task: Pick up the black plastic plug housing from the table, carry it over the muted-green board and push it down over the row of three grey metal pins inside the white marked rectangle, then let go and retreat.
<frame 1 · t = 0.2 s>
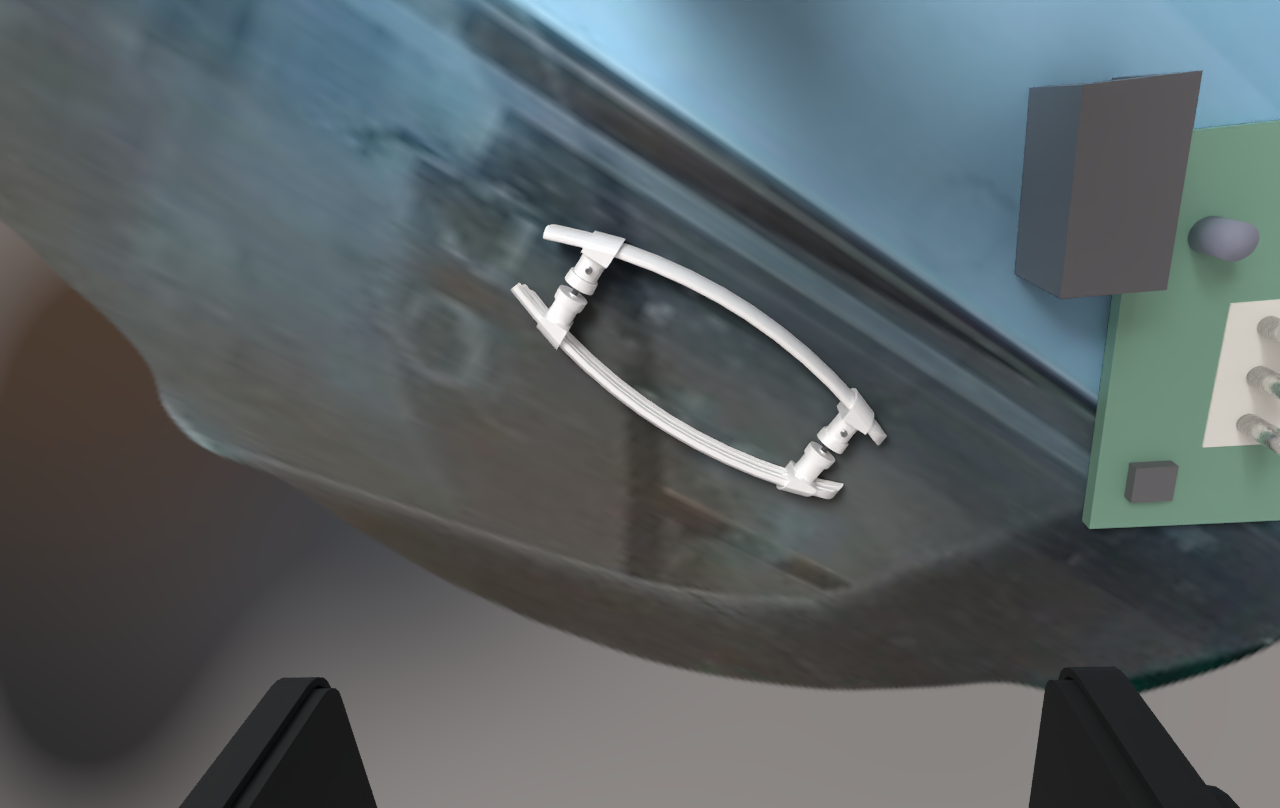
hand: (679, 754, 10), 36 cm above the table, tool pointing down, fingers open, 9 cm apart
pins: (1244, 369, 43), resting on board
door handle: (702, 359, 46), on the table
plug housing: (1068, 180, 40), on the table
board: (1251, 337, 42), on the table
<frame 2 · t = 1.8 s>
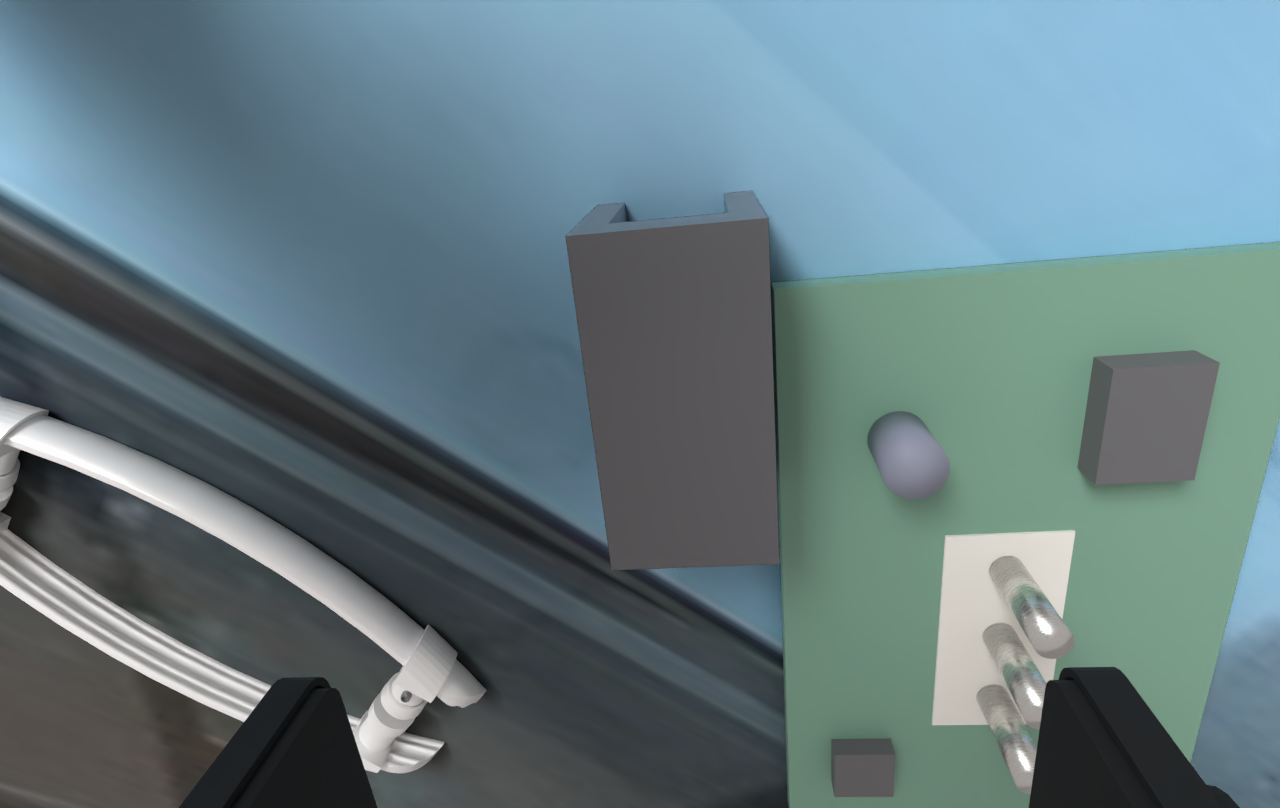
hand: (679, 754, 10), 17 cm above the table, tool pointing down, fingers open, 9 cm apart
pins: (988, 616, 28), resting on board
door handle: (219, 571, 31), on the table
plug housing: (685, 345, 25), on the table
board: (992, 574, 28), on the table
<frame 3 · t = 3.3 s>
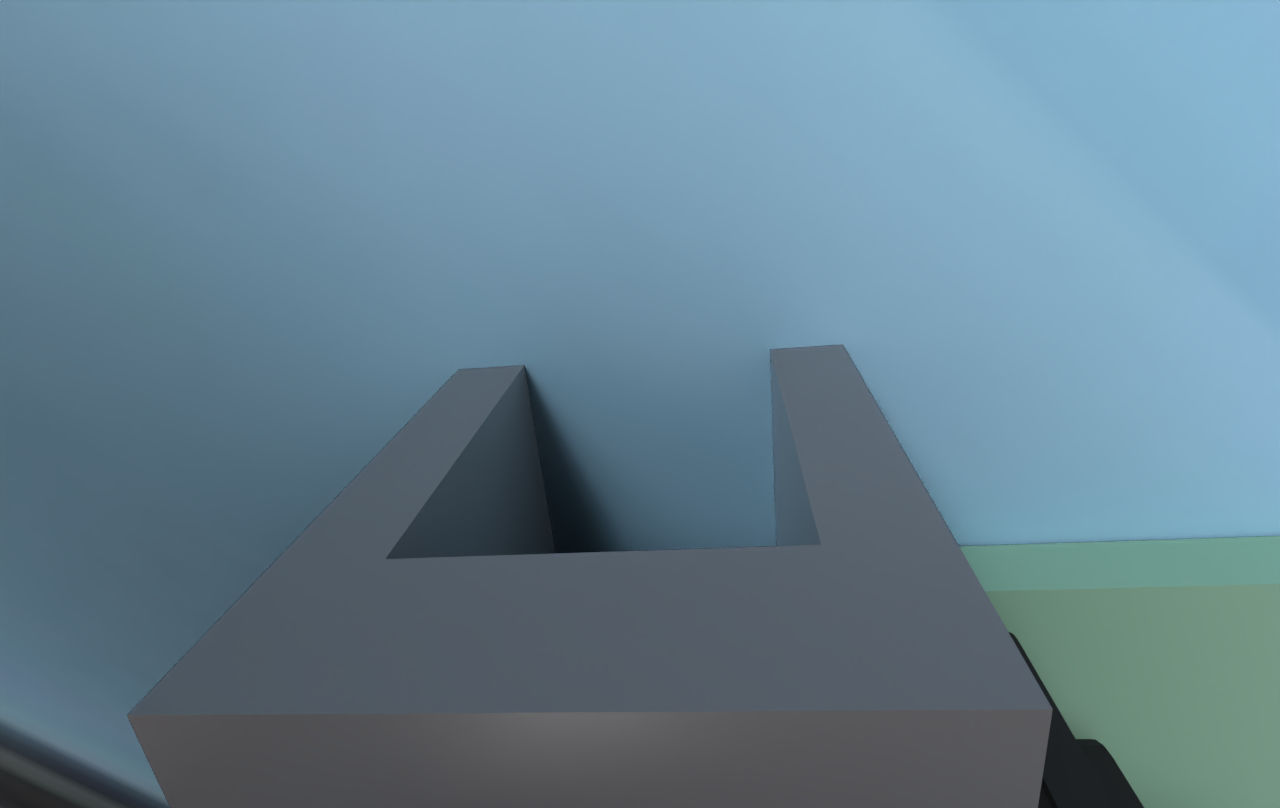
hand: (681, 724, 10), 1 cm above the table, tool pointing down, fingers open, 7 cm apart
plug housing: (675, 660, 11), on the table
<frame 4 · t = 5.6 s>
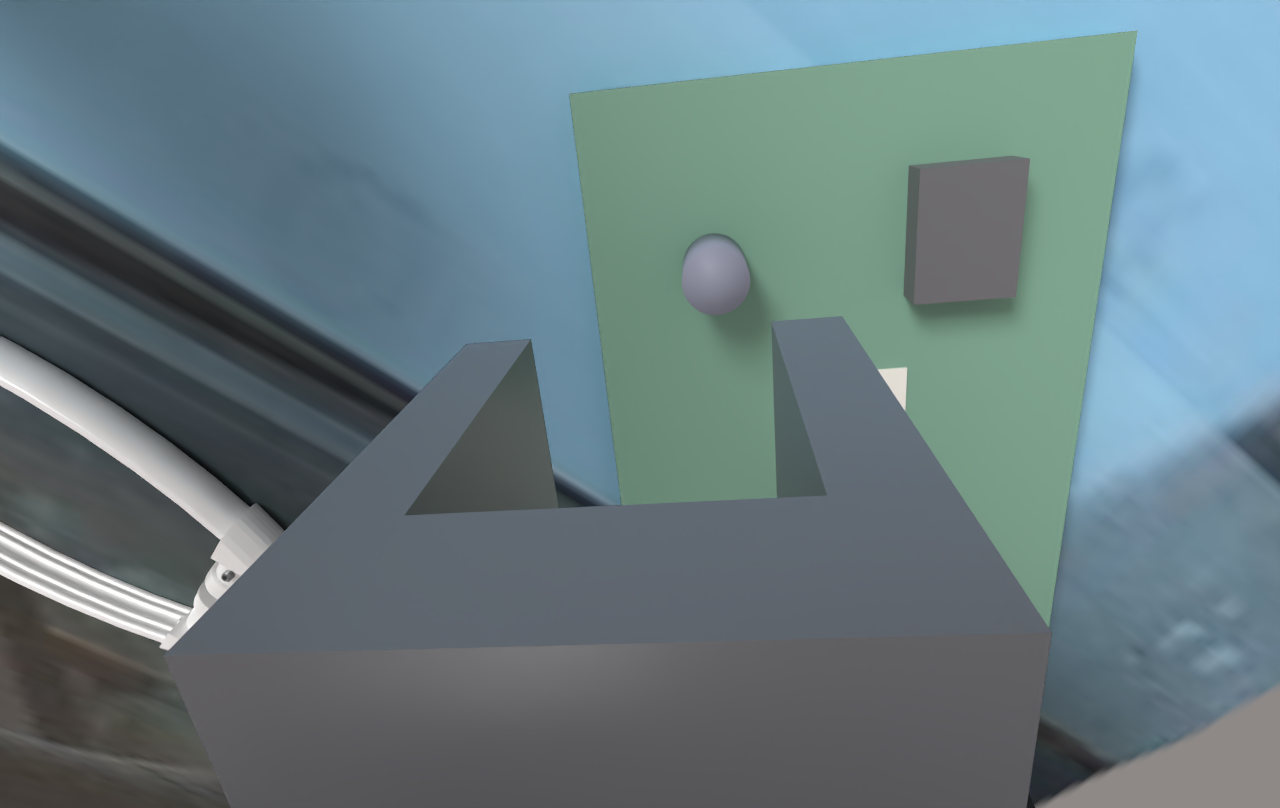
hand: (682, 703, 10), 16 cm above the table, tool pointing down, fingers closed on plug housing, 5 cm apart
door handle: (39, 445, 30), on the table
plug housing: (678, 632, 11), point 15 cm above the table, touching gripper
board: (834, 426, 26), on the table
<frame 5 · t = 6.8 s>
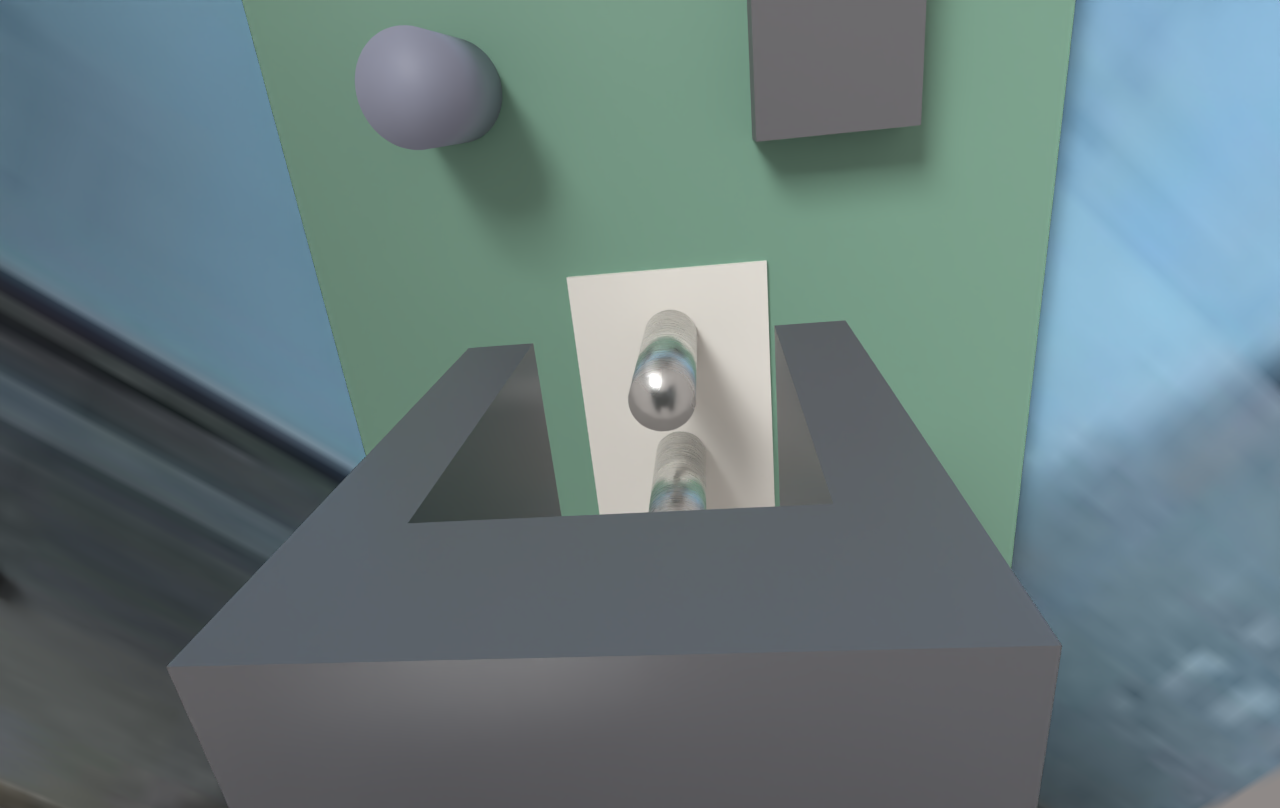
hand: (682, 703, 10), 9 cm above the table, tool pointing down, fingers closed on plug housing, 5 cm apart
pins: (682, 434, 18), resting on board
plug housing: (681, 637, 11), point 8 cm above the table, touching gripper
board: (675, 360, 18), on the table
when the fingers open (2 cm above the table, at t = 8.5 s): plug housing stays where it is, resting on board.
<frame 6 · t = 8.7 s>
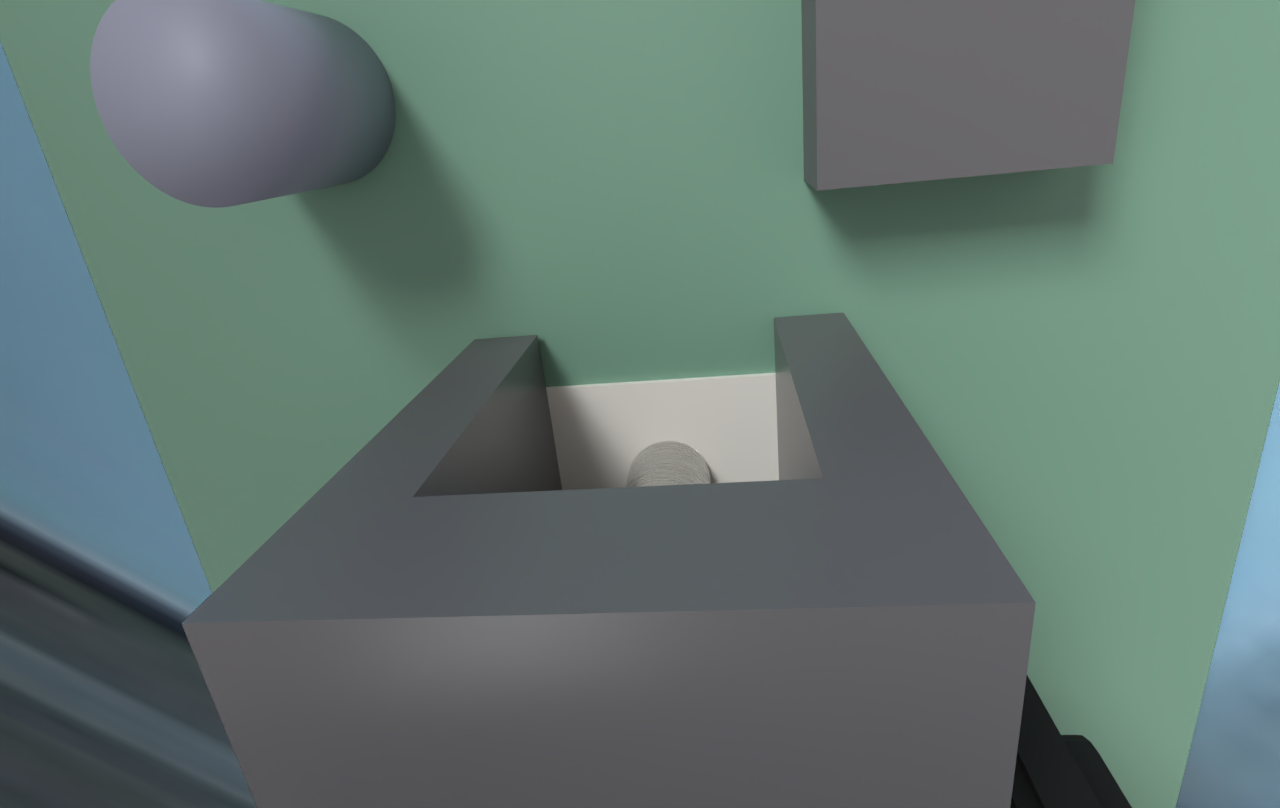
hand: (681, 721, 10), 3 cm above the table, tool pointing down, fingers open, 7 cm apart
pins: (687, 599, 13), resting on board
plug housing: (682, 627, 12), point 1 cm above the table, touching board
board: (678, 500, 12), on the table
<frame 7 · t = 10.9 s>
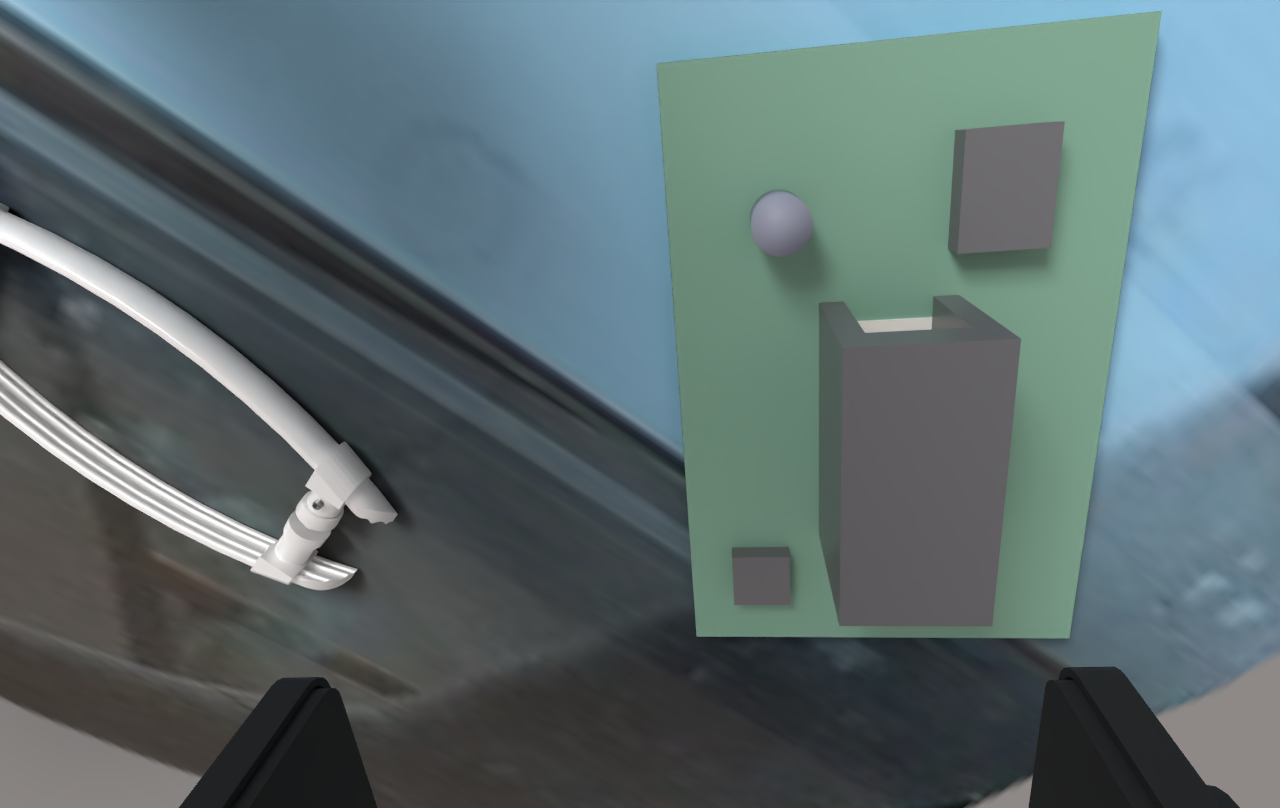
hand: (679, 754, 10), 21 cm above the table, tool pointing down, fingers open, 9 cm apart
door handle: (156, 383, 33), on the table
plug housing: (883, 423, 28), point 1 cm above the table, touching board
board: (880, 374, 29), on the table
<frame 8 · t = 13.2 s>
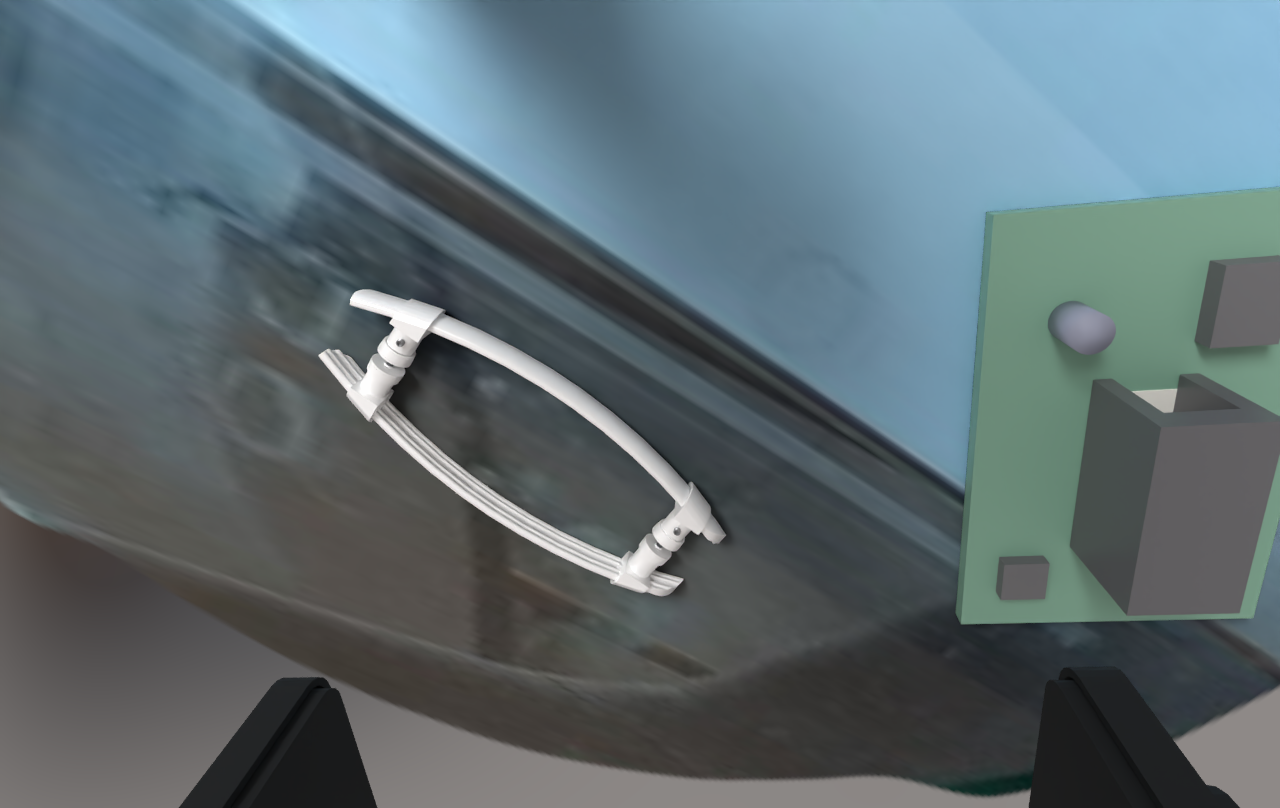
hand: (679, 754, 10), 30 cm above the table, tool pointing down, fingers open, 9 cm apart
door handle: (535, 439, 43), on the table
plug housing: (1130, 464, 38), point 1 cm above the table, touching board
board: (1125, 427, 39), on the table
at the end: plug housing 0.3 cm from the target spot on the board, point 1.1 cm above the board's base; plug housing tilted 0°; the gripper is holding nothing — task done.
